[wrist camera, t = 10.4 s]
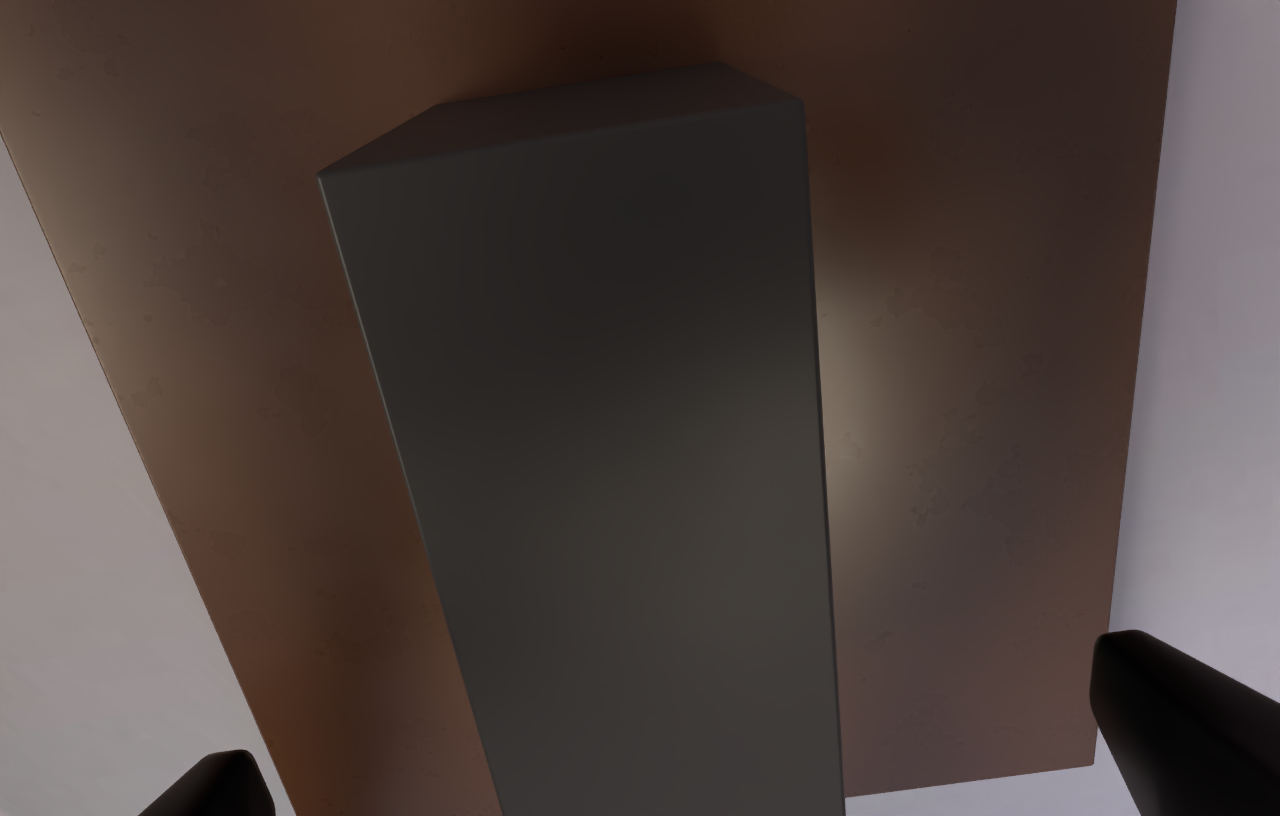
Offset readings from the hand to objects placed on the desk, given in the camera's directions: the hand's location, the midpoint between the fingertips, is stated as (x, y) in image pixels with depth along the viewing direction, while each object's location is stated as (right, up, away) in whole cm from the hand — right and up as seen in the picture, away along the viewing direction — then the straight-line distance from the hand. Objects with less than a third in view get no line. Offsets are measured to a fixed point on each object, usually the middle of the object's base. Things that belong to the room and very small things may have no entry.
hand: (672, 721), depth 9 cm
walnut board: (0, +3, +7) cm, 8 cm away
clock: (0, +3, +7) cm, 7 cm away
